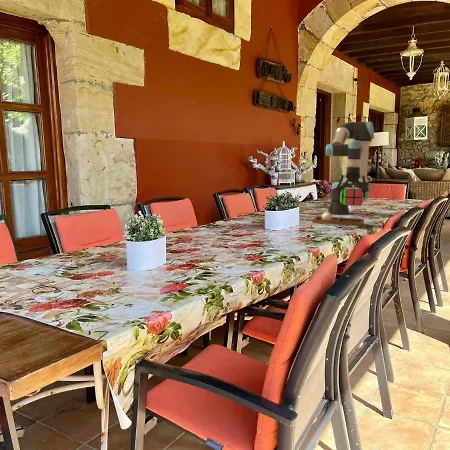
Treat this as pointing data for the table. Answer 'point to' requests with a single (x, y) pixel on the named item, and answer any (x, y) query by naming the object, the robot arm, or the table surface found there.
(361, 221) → the brown wooden tray
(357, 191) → the puzzle cube
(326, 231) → the table surface
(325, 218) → the ceramic egg
